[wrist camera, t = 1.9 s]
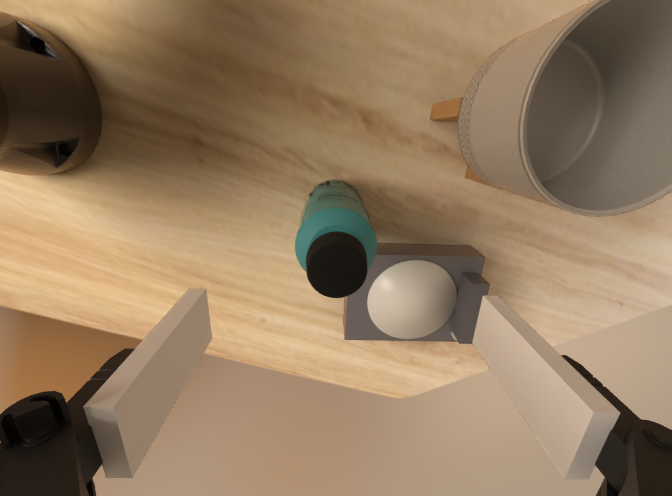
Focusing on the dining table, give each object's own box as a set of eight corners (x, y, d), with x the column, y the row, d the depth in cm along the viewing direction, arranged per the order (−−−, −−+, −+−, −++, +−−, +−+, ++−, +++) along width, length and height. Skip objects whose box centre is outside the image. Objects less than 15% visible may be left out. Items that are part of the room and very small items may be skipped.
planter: (521, 185, 38) (675, 228, 21) (418, 171, 37) (493, 203, 20) (562, 64, 33) (799, -3, 17) (446, 44, 32) (572, -47, 16)
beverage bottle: (365, 222, 39) (399, 306, 20) (313, 233, 39) (300, 327, 20) (354, 170, 37) (383, 211, 18) (300, 183, 37) (271, 236, 18)
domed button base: (343, 321, 44) (345, 355, 37) (347, 242, 40) (351, 264, 33) (454, 324, 44) (476, 357, 38) (470, 245, 40) (498, 267, 34)
